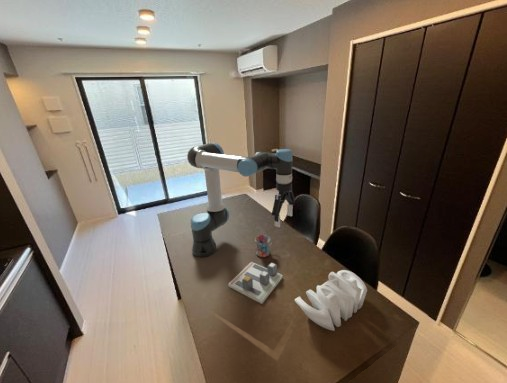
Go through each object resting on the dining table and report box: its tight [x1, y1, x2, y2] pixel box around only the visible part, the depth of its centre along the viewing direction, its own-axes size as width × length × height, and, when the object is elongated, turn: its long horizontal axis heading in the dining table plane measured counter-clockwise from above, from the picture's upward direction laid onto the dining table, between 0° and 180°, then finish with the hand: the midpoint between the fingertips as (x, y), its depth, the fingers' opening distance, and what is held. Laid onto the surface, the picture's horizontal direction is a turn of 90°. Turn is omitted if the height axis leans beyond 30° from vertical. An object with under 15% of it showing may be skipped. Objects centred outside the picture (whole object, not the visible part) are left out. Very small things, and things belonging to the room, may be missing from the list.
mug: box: [254, 234, 274, 258], centre depth 137 cm, size 12×9×11 cm
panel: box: [228, 261, 283, 304], centre depth 115 cm, size 20×20×7 cm
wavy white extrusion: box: [294, 269, 368, 332], centre depth 99 cm, size 35×16×11 cm, turn 122°
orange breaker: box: [242, 276, 253, 291], centre depth 110 cm, size 4×4×6 cm
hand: (283, 220), depth 117 cm, fingers open, 13 cm apart
